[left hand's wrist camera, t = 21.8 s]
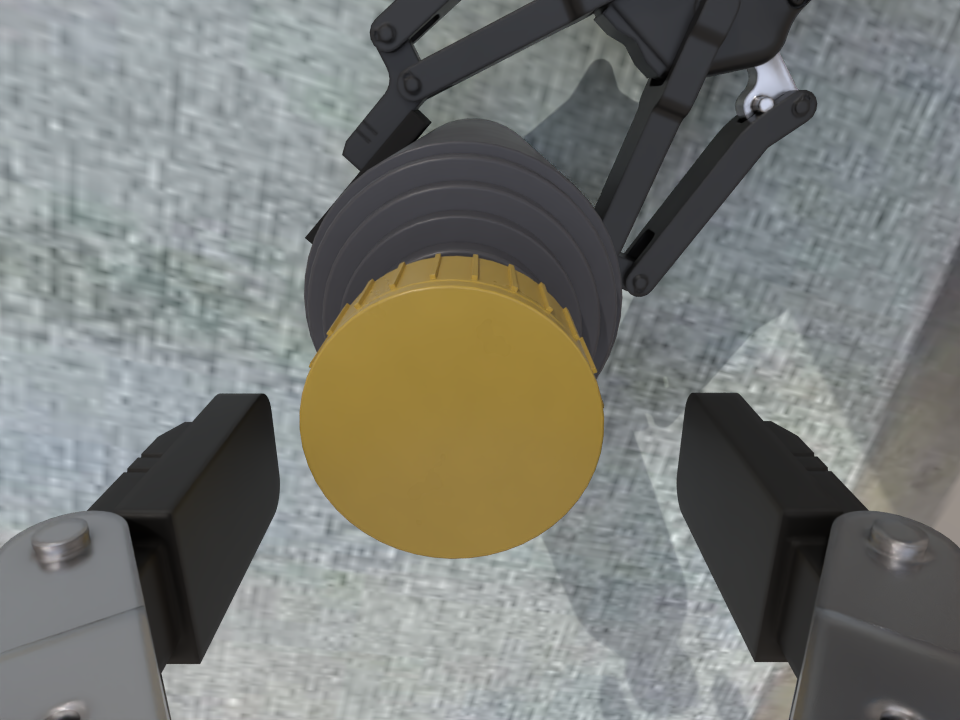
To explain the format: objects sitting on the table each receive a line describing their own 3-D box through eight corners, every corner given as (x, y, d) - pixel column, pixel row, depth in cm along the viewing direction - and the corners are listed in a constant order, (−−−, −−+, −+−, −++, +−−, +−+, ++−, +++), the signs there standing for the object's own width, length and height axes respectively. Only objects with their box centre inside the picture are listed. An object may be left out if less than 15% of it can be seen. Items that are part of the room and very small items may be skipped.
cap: (457, 191, 10) (453, 211, 8) (642, 385, 11) (671, 437, 10) (270, 378, 11) (231, 430, 10) (455, 538, 13) (450, 609, 11)
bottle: (418, 280, 35) (292, 635, 12) (384, 135, 33) (135, 223, 9) (556, 253, 35) (713, 570, 11) (533, 104, 32) (672, 112, 9)
